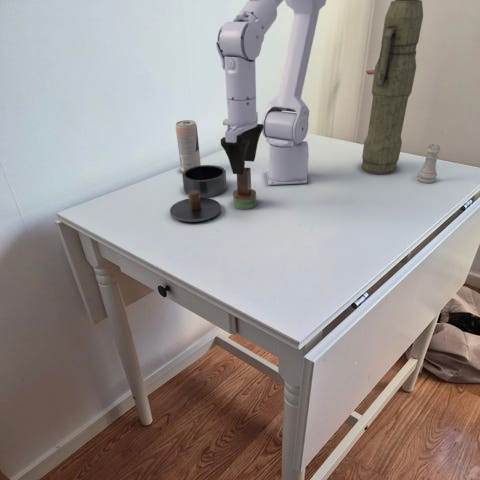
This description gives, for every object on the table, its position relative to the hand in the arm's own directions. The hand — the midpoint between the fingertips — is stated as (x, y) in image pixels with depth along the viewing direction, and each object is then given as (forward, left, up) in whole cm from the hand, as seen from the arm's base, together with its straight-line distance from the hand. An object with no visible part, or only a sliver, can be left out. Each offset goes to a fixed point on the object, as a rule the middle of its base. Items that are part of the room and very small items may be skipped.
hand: (244, 167), depth 90 cm
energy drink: (+14, -23, -9) cm, 28 cm away
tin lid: (+11, +3, -8) cm, 14 cm away
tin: (+10, -10, -9) cm, 16 cm away
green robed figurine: (-35, -18, -9) cm, 40 cm away
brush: (0, 0, -9) cm, 9 cm away
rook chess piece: (-44, -9, -9) cm, 46 cm away
